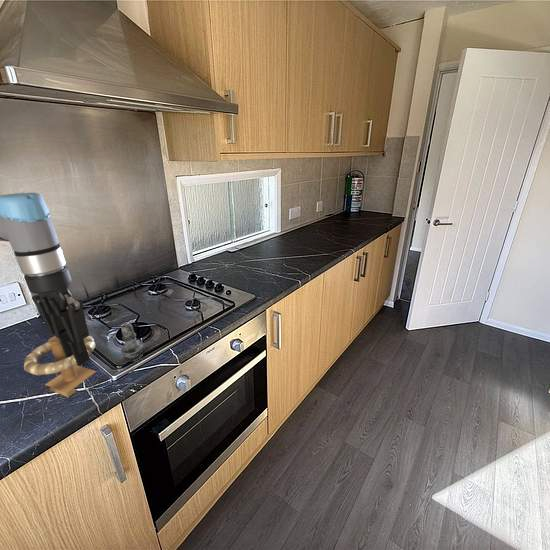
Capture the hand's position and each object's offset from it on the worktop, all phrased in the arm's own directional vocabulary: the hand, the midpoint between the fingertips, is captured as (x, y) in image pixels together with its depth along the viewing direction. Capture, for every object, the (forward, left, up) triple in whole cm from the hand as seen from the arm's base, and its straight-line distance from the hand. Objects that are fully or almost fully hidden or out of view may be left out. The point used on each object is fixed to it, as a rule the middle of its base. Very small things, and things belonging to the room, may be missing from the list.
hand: (79, 360), depth 70 cm
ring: (-6, 0, +1) cm, 6 cm away
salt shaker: (+2, +13, -9) cm, 16 cm away
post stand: (-6, 0, -9) cm, 10 cm away
